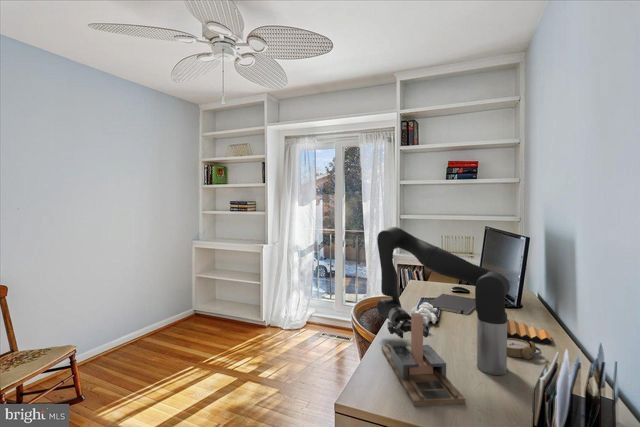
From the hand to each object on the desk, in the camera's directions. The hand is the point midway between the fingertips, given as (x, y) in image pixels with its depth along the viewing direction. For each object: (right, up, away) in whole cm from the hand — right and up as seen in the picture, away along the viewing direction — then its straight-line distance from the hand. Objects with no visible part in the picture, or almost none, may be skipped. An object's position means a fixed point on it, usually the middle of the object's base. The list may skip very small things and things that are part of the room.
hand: (414, 335), depth 115 cm
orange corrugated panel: (+56, -12, +37) cm, 68 cm away
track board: (0, -12, -2) cm, 12 cm away
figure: (+18, -11, +48) cm, 52 cm away
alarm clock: (+44, -12, +13) cm, 47 cm away
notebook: (+44, -11, +75) cm, 87 cm away
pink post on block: (0, -10, -2) cm, 11 cm away
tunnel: (0, -11, -2) cm, 11 cm away
